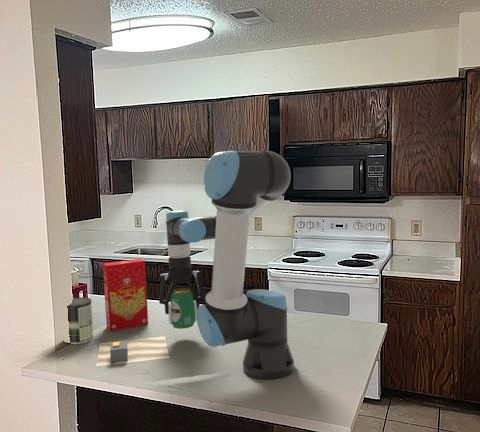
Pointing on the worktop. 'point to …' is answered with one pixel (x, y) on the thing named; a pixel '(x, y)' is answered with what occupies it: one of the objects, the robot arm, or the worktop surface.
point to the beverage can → (182, 308)
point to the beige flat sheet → (136, 351)
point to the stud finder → (119, 351)
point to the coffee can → (80, 320)
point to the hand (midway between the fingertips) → (183, 321)
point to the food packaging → (125, 294)
